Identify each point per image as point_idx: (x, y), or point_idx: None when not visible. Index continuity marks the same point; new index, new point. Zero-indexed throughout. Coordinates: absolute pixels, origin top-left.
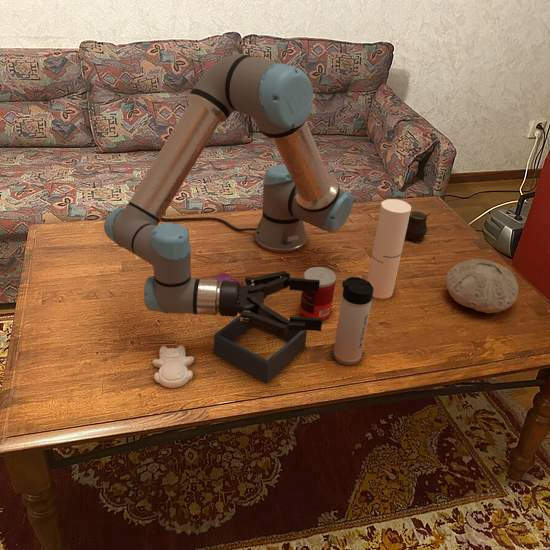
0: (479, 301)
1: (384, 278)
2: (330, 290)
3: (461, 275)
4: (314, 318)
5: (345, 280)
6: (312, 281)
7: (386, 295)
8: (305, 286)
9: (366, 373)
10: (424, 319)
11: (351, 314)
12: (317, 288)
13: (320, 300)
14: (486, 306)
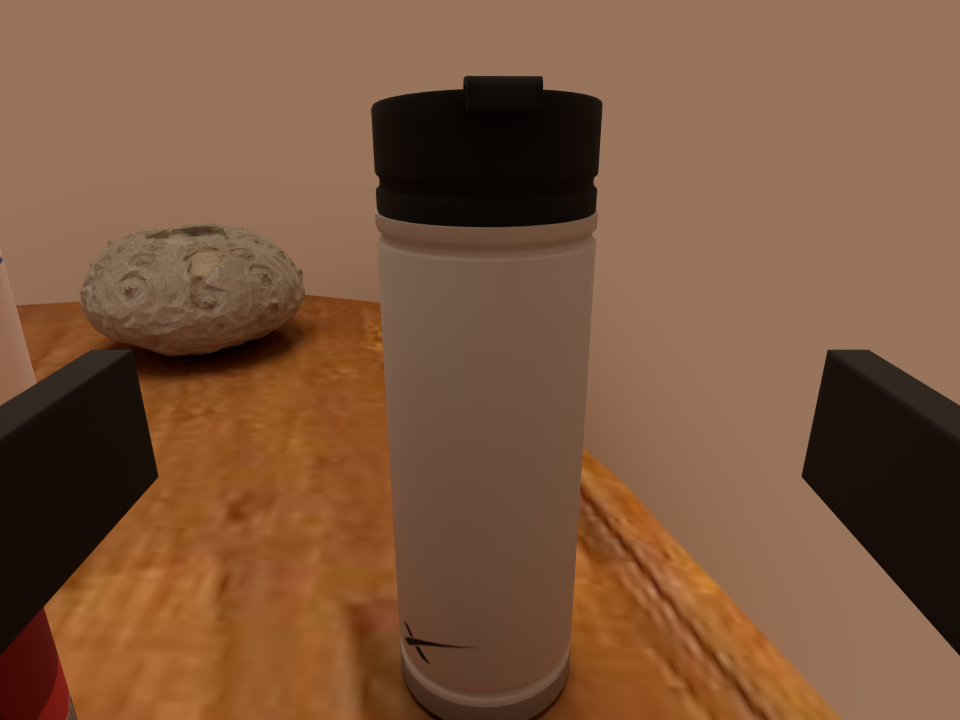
0: (279, 291)
1: (18, 393)
2: None
3: (172, 266)
4: (888, 383)
5: (443, 90)
6: (80, 386)
7: None
8: (47, 513)
9: (603, 589)
10: (255, 419)
11: (590, 310)
12: (140, 445)
13: (29, 654)
14: (294, 296)
